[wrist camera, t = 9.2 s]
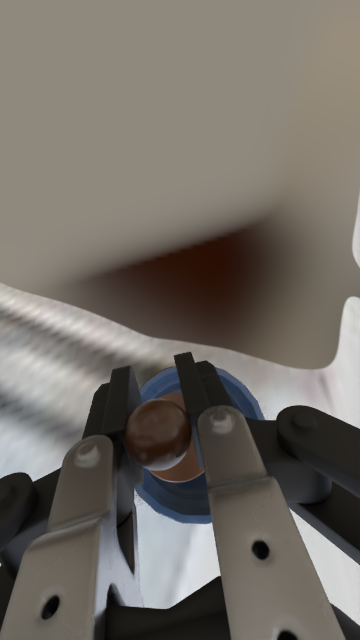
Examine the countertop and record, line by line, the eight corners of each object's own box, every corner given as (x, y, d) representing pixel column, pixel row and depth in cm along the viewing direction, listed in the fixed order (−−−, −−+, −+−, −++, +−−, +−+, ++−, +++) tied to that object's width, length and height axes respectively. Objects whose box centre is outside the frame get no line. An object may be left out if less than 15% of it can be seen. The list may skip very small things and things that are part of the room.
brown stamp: (137, 476, 18) (21, 565, 6) (143, 395, 20) (68, 330, 8) (216, 479, 18) (276, 577, 5) (214, 397, 20) (254, 332, 7)
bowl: (127, 505, 27) (113, 521, 22) (138, 373, 32) (128, 362, 27) (260, 509, 27) (276, 526, 22) (249, 375, 32) (261, 364, 27)
